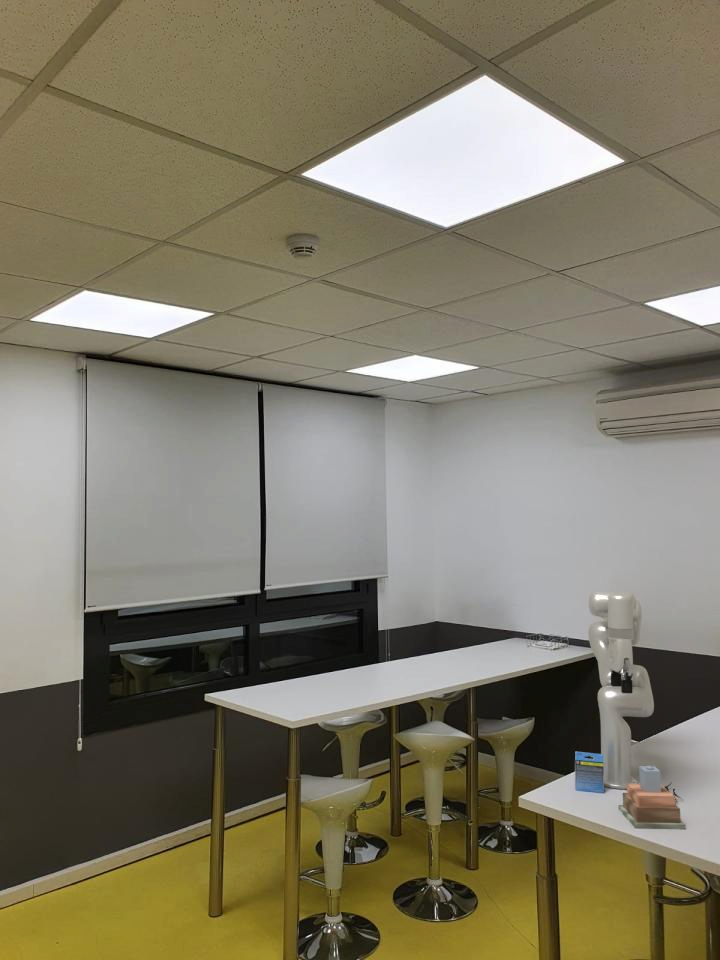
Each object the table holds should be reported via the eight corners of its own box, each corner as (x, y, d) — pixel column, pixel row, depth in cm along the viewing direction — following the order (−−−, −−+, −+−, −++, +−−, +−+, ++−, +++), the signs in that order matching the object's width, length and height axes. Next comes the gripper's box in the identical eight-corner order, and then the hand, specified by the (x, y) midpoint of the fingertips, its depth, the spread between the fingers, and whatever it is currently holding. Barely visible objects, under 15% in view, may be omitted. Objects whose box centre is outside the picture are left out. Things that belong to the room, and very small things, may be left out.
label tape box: (603, 789, 236) (602, 750, 237) (604, 793, 232) (603, 754, 233) (575, 786, 238) (574, 748, 239) (575, 790, 234) (574, 751, 235)
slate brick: (639, 786, 215) (639, 764, 215) (655, 787, 215) (654, 764, 215) (645, 792, 210) (644, 768, 211) (660, 792, 210) (660, 769, 211)
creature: (687, 808, 223) (673, 793, 231) (689, 792, 223) (674, 777, 230) (663, 809, 222) (649, 794, 230) (665, 793, 222) (651, 778, 229)
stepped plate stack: (618, 809, 219) (618, 781, 220) (665, 810, 219) (665, 782, 219) (635, 828, 205) (634, 798, 206) (685, 829, 205) (684, 799, 205)
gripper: (599, 629, 236) (600, 683, 235) (617, 637, 219) (618, 695, 218) (623, 630, 236) (624, 683, 235) (643, 638, 219) (643, 696, 218)
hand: (621, 689), depth 226 cm, fingers open, 9 cm apart
